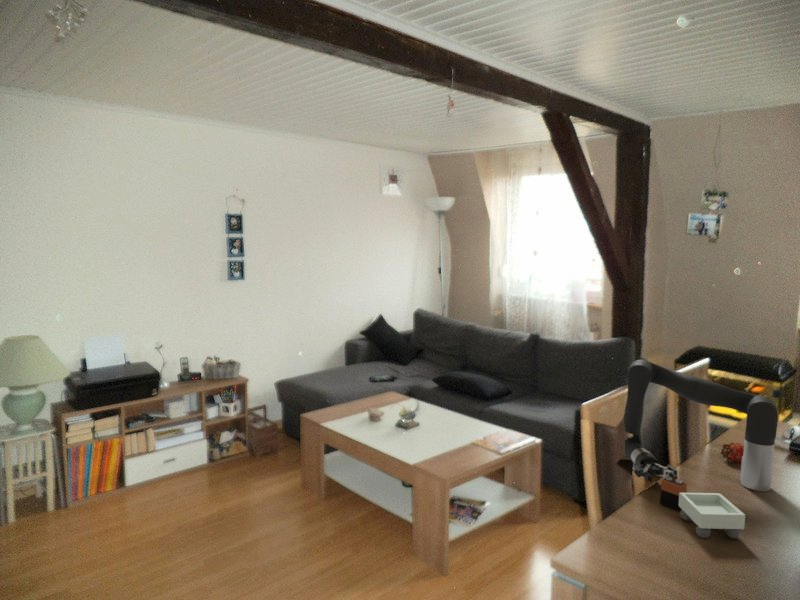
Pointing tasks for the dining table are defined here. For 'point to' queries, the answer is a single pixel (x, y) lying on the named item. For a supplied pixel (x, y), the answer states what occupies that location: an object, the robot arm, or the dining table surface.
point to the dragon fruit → (733, 452)
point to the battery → (671, 492)
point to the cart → (711, 513)
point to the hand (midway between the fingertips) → (663, 479)
